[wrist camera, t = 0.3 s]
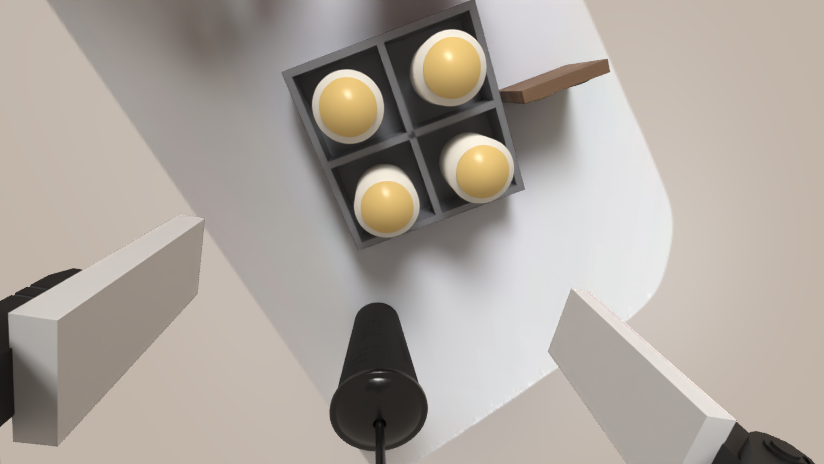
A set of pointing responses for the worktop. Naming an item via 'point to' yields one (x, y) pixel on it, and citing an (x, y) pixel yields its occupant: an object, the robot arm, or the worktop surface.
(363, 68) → the button board
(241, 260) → the worktop surface
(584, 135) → the worktop surface
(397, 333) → the drinking cup
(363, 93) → the button
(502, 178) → the button
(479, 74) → the button
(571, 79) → the placard
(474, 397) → the worktop surface
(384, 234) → the button
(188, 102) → the worktop surface
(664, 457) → the robot arm
